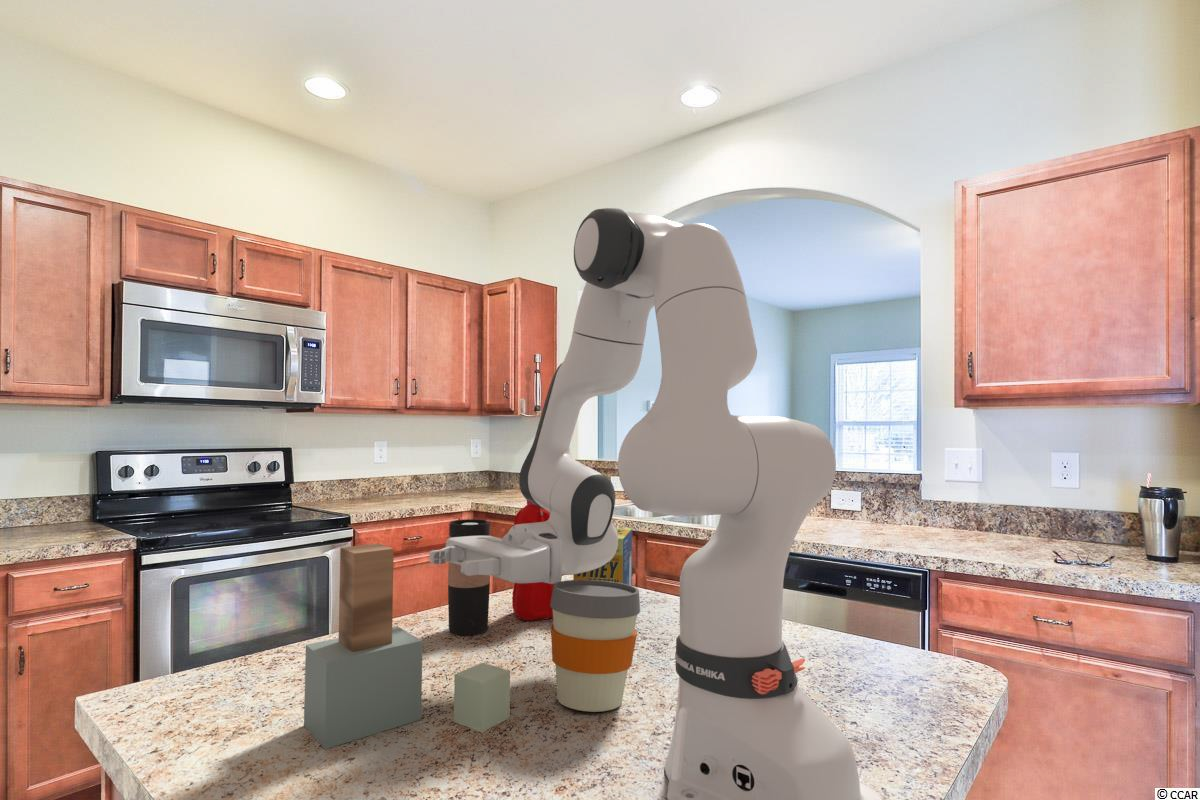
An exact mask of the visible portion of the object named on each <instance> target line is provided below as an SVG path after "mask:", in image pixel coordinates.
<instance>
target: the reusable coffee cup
mask: <svg viewBox="0 0 1200 800" xmlns="http://www.w3.org/2000/svg"><path fill="white" fill-rule="evenodd" d="M640 601H641V599H640V590H639V589H638V588H637V587H636V586H634V585H632V586H631V585H627V584H623V583H617V582H611V581H601V580H573V579H568V580H561V582H557V583H555V584H554V586H553V592H552V598H551V604H550V606H551V608H552V609H553V618H552V621H553V622H552V623H553V624H551V625H550V638H551V639H550V640H551V658H552V662H553V664H555V677H556V678H555V680H556V696H557V697H556V698H557V701H558V702H559V703H560V704H561V705H563V706H565V707H566V708H569V709H573V710H575V711H582V712H593V713H595V712H598V713H599V712H606V711H612V710H614V709H617V708H619V707H620V706H621V705H622V703H623V698H624V693H625V686H626V681H627V676H628V675H627V674H628V670H629V669H630V668H631V667H632V666H633V665H632V664H633V658H634V653H635V647H636V641H637V635H638V631H637V630H636V623H637V619H638V615H639V614H640V613H641V602H640Z"/></svg>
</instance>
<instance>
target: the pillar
mask: <svg viewBox="0 0 1200 800" xmlns="http://www.w3.org/2000/svg"><path fill="white" fill-rule="evenodd" d="M394 550H395V549H394V548H393V547H391V546H387V545H384V544H382V543H377V542H376V543H371V544H370V543H368V544H363V545H362V544H361V545H354V546H353V545H352V546H345V547H344V546H343V547H340V555H339V556H340V557H339V593H338V594H339V597H338V598H339V603H338V605H339V606H338V638H339V640H338V642H339V643H341V644H342V645H343V646H345V647H346V648H347V649H349V650H350V651H352V652H356V651H360V650H365V649H369V648H374V647H378V646H383V645H387V644H392V627H393V614H394V613H393V609H394V607H393V606H394V605H393V604H394V603H393V601H394V600H393V599H394V597H393V596H394V554H395V553H394V552H395V551H394Z"/></svg>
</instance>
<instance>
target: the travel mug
mask: <svg viewBox="0 0 1200 800" xmlns="http://www.w3.org/2000/svg"><path fill="white" fill-rule="evenodd" d="M448 526H449V528H448V532H449V533H448V539H449V538H453V537H464V536H491V535H490V534H491V521H489V522H488V521H487V520H485V519H478V518H477V519H476V518H474V519H473V518H471V519H468V518H467V519H466V518H465V519H457V520H452V521H449V524H448ZM447 565H448V566H447V568H448V570H447V573H448V575H447V596H448V597H447V599H448V603H447V605H448V632H449V634H451V635H453V636H459V637H467V636H469V637H470V636H477V634H478V635H481V634H484V633H486V632H487V631H488V628H489V612H490V611H489V610H490V609H489V608H490V606H489V605H490V582H491V581H490V580H491V575H471V576H467V575H464V574H462V573H461V565H458V564H455V563H452V562H449V561H448V564H447Z"/></svg>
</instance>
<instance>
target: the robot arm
mask: <svg viewBox="0 0 1200 800" xmlns="http://www.w3.org/2000/svg"><path fill="white" fill-rule="evenodd" d="M574 239H575V240H574V245H573V261H574V263H573V264H574V266H575V269H576V271H577V272H578V275H579V276H580V278H581V279H582V280H583V281H584V282H585V285H584V287H583V289H582V290H583V291H582V294H581V296H580V299H579V303H578V306H577V310H576V315H575V318H574V323H573V329H572V335H571V340H570V342H569V343H570V344H569V346H568V350H567V353H566V355H565V357H564V359H563V361H562V362H561V363H559V365H558V367H557V368H556V369H555V372H554V373H553V375H552V379H551V380H550V384H549V387H548V391H547V393H546V397H545V400H544V404H543V407H542V412H541V416H540V418H539V422H538V426H537V429H536V433H535V437H534V439H533V442H532V445H531V447H530V449H529V451H528V454H527V455H526V457H525V459H524V462H523V464H522V466H521V469H520V471H519V472H520V473H519V476H518V477H519V478H518V483H519V484H518V486H519V489H520V492H521V494H522V496H523V498H524V499H526V501H527V500H528V501H529V502H531V503H533V504H535V505H537V506H539V507H541V508H543V509H545V510H547V511H548V512H549V513H550V518H549V519H548V520H547V521H545V522H537V523H527V524H517V525H514V524H513V526H512V527H510V529H509V530H508V532H507V534H504V536H503V537H502V538H501V537H497V536H492V535H490V536H464V537H453V538H449V537H448V538H447V539H446V542H445V547H443V548H441V549H437V550H435V549H434V550H431V551H430V552H429V555H428V557H429V559H428V560H429V563H431V564H434V565H442V564H446V563H447V562H448V563H449V562H452V563H455V564H458V565H461V573H462V574H464V575H467V576H471V575H490V577H494V578H497V579H500V580H504V581H505V582H510V583H512V584H513V583H514V584H515V583H535V582H543V583H549V584H555V583H557V582H561V581H563V580H562V579H563V576H572V575H573V574H579V573H583V572H588V571H591V570H594V569H597V568H599V567H601V566H603V565H605V564H606V563H608V562H609V561H610V560H611V559H612V558H613V557H614V555H615V553H616V550H617V547H618V534H617V531H616V528H615V525H614V523H613V516H614V511H615V506H616V505H615V504H616V491H615V487H614V484H613V483H612V481H611V479H609V478H608V477H607V476H606V475H604V474H602V473H600V472H598V471H597V470H596V469H593V468H592V467H590V466H587V465H585V464H583V463H582V462H580V461H577V460H576V459H575V458H574V457H573V456H572V454H571V449H570V445H571V442H572V438H573V434H574V430H575V429H576V425H577V421H578V418H579V415H580V411H581V409H582V408H583V405H584V404H585V403H586V401H588V400H589V399H592V398H594V397H598V396H599V397H600V396H605V395H611V394H613V393H615V392H618V391H620V390H622V389H624V388H625V387H627V386H628V385H629V384H630V383H631V382H632V381H633V380H634V379H635V376H636V375H637V372H638V370H639V367H640V363H641V361H642V356H643V350H644V349H643V348H644V343H645V338H646V332H647V327H648V326H647V325H648V319H649V316H650V312H651V310H652V309H653V308H654V313H655V319H656V324H657V325H656V326H657V333H658V340H659V341H658V342H659V349H660V350H659V351H660V362H661V379H660V385H659V388H658V392H657V395H656V398H655V400H654V402H653V404H652V406H651V407H650V409H649V410H648V411H647V412H646V414H645V415H644V416H643V417H642V418H641V419H640V420H639V421H638V422H636V423H635V424H634V425H633V426H632V427H631V428H630V430H629V431H628V432H627V434H626V436H625V437H624V439H623V440H622V443H621V446H620V449H619V452H618V457H617V458H618V459H617V471H618V473H617V474H618V478H619V482H620V484H621V488H622V489H623V491H624V493H625V495H626V496H627V498H628V499H629V501H630V502H631V503H632V504H633V505H634V506H635V507H636V508H637V509H639V510H641V511H645V512H650V513H656V514H660V515H666V516H667V515H668V516H673V517H678V518H679V517H682V518H683V517H698V516H700V517H702V516H716V515H717V516H718V515H720V517H719V521H718V524H717V527H716V529H715V531H714V533H713V534H712V536H711V538H709V540H708V542H706V543H705V545H703V546H702V547H700V548H699V549H697V550H696V551H695V552H693V553H692V554H691V555H690V556H689V557H688V558H687V559H686V560H685V562H684V564H683V565H682V569H681V570H680V574H679V634H678V636H677V637H676V641H675V642H676V643H675V654H674V659H675V672H676V674H677V675H678V687H677V700H676V708H675V717H674V725H673V731H672V736H671V737H672V738H671V742H670V747H669V750H668V753H667V755H666V756H667V757H666V759H665V763H664V770H665V774H666V776H667V779H668V781H669V782H668V785H667V793H666V796H667V797H666V798H667V800H883V799H884V798H883V795H882V794H881V793H880V792H879V791H876V790H875V789H873V788H872V787H870V786H868V785H867V784H865V783H863V782H861V781H860V777H859V769H858V766H857V759H856V755H855V752H854V748H853V746H852V743H851V742H850V739H848V737H847V735H845V733H844V732H843V731H841V729H840V728H839V727H837V725H836V724H835V723H834V722H832V720H831V719H830V718H829V717H828V716H827V715H826V714H825V713H824V712H823V711H822V710H821V708H819V706H818V705H817V704H816V703H815V702H814V701H813V700H812V699H811V698H810V696H809V695H808V694H807V693H806V692H805V691H804V690H803V689H802V688H801V687H800V686H799V684H798V682H799V680H798V678H797V675H796V673H797V674H798V673H799V672H801V671H804V670H805V669H806V667H805V666H803V664H804V663H805V661H806V659H805V658H802V657H801V658H800V659H797V660H795V661H792V660H791V659H792V658H791V657H790V655H789V651H788V648H787V646H786V644H785V642H784V641H783V595H784V593H783V592H784V580H785V579H784V578H785V571H786V566H787V564H788V563H787V562H788V558H789V556H790V552H791V549H792V546H793V545H794V544H793V543H794V541H795V538H796V536H797V534H798V531H799V530H800V528H801V526H802V524H803V522H804V521H805V519H806V518H807V516H808V514H809V513H810V512H811V511H812V510H813V508H814V507H815V506H816V505H817V504H818V503H819V502H821V501H822V500H823V499H824V498H825V497H826V496H827V494H828V493H829V492H830V490H831V489H832V486H833V483H834V481H835V477H836V472H837V470H836V469H837V467H836V465H837V461H836V460H837V459H836V454H835V450H834V448H833V444H832V443H831V441H830V439H829V438H828V436H827V434H826V433H825V432H824V431H823V430H822V429H821V428H819V427H818V426H816V425H814V424H812V423H809V422H805V421H801V420H799V419H793V418H789V417H784V416H780V415H734V414H731V413H730V410H729V406H728V405H729V404H728V394H729V393H728V392H729V390H731V389H732V388H734V387H735V386H737V385H738V384H740V383H742V381H744V380H745V379H746V378H747V377H748V376H749V375H750V374H751V372H752V371H753V368H754V366H755V364H756V361H757V357H758V349H757V344H756V340H755V334H754V330H753V325H752V320H751V315H750V311H749V305H748V301H747V296H746V291H745V287H744V283H743V280H742V277H741V273H740V271H739V268H738V264H737V262H736V259H735V257H734V255H733V252H732V250H731V247H730V245H729V244H728V241H727V240H726V239H727V238H725V236H724V235H723V233H722V232H721V231H720V230H719V229H717V228H715V227H714V226H712V225H709V224H706V223H701V222H693V223H692V222H691V223H690V222H689V223H684V224H682V223H679V222H676V221H673V220H670V219H669V220H668V219H666V218H664V217H661V216H657V215H653V214H647V213H643V212H642V213H641V212H633V211H632V212H631V211H624V210H623V209H621V208H617V207H615V208H614V207H610V208H608V207H607V208H606V207H605V208H598V209H597V208H596V209H594V210H592V211H591V212H589V214H588V215H586V217H585V218H583V220H582V222H581V223H580V224H579V227H578V229H577V232H576V235H575V238H574ZM800 666H801V667H800Z"/></svg>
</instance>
